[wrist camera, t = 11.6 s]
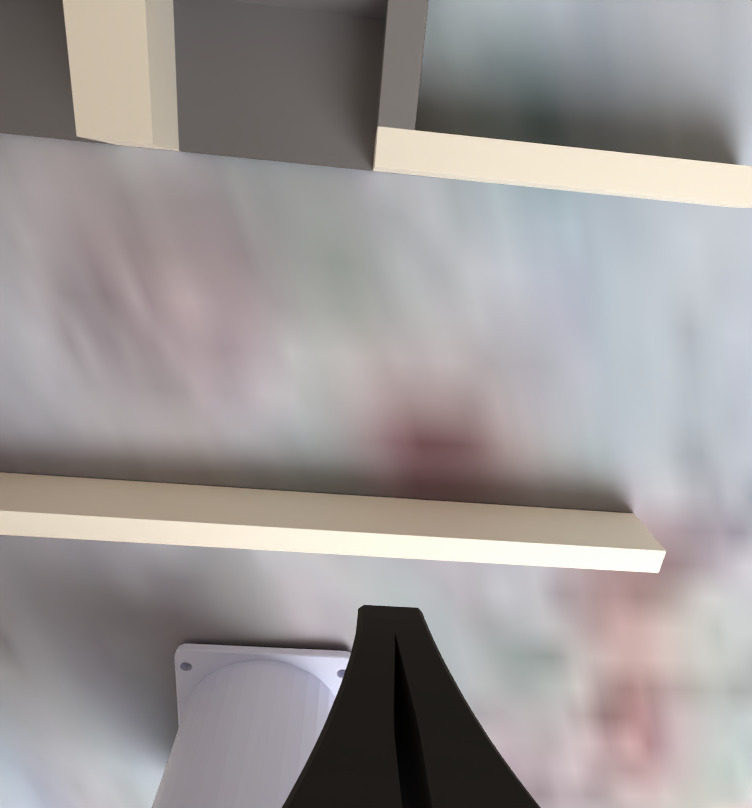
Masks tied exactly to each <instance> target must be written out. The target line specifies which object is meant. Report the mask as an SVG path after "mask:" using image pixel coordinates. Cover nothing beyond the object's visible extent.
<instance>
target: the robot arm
mask: <svg viewBox="0 0 752 808" xmlns="http://www.w3.org/2000/svg"><path fill="white" fill-rule="evenodd" d="M174 659H175V675H176V691H177V708H178V724H179V729H178V732H177V735H176V738H175V741H174V744H173V747H172V750H171V753H170V755H169V758H168V761H167V764H166V767H165V770H164V773H163V776H162V779H161V782H160V785H159V788H158V791H157V794H156V797H155V800H154V803H153V805H152V808H540V806H539V805H538V804H537V803H536V801H535V800H534V799H533V798H532V796H531V795H530V794H529V792H528V791H527V790H526V788H525V787H524V786H523V785H522V783H521V782H520V781H519V779H518V778H517V777H516V775H515V774H514V773H513V771H512V770H511V769H510V767H509V766H508V764H507V763H506V762H505V760H504V759H503V758H502V756H501V755H500V753H499V752H498V750H497V749H496V747H495V746H494V745H493V743H492V742H491V740H490V739H489V737H488V736H487V734H486V732H485V731H484V729H483V728H482V726H481V725H480V723H479V721H478V720H477V718H476V717H475V715H474V713H473V712H472V710H471V709H470V707H469V705H468V704H467V702H466V700H465V698H464V697H463V695H462V693H461V691H460V690H459V688H458V686H457V684H456V682H455V681H454V679H453V677H452V675H451V673H450V672H449V670H448V668H447V666H446V664H445V662H444V660H443V658H442V656H441V654H440V652H439V650H438V648H437V646H436V644H435V642H434V640H433V637H432V635H431V633H430V631H429V628H428V626H427V624H426V621H425V619H424V616H423V614H422V612H421V611H420V610H419V608H410V607H391V606H372V605H363V606H362V607H360V608H359V609H358V618H357V627H356V635H355V640H354V643H353V647H352V651H351V653H350V652H347V651H336V650H315V649H294V648H272V647H251V646H230V645H209V644H182V645H180V646H179V647H178V648H177V650H176V653H175V656H174ZM185 662H187V663H189V664H187V663H185ZM342 669H344V670H345V671H341V670H342Z"/></svg>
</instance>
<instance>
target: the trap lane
mask: <svg viewBox="0 0 752 808" xmlns="http://www.w3.org/2000/svg"><path fill="white" fill-rule="evenodd" d="M428 1H429V0H0V133H7V134H16V135H26V136H36V137H46V138H56V139H65V140H75V141H85V142H95V143H105V144H114V145H124V146H134V147H144V148H154V149H164V150H173V151H183V152H193V153H203V154H213V155H222V156H232V157H242V158H252V159H262V160H271V161H281V162H291V163H301V164H311V165H321V166H330V167H340V168H350V169H360V170H370V171H379V172H389V173H399V174H409V175H419V176H428V177H438V178H448V179H458V180H468V181H478V182H487V183H497V184H507V185H517V186H527V187H536V188H546V189H556V190H566V191H576V192H585V193H595V194H605V195H615V196H625V197H635V198H644V199H654V200H664V201H674V202H684V203H693V204H703V205H713V206H723V207H738V208H752V166H744V165H734V164H725V163H716V162H706V161H697V160H688V159H678V158H669V157H660V156H650V155H641V154H631V153H622V152H613V151H603V150H594V149H585V148H575V147H566V146H557V145H547V144H538V143H529V142H519V141H510V140H501V139H491V138H482V137H473V136H463V135H454V134H445V133H435V132H426V131H417V130H415V123H416V114H417V104H418V95H419V85H420V76H421V67H422V57H423V48H424V38H425V29H426V19H427V10H428ZM0 535H15V536H32V537H50V538H67V539H84V540H101V541H119V542H136V543H153V544H170V545H187V546H205V547H222V548H239V549H256V550H274V551H291V552H308V553H325V554H342V555H360V556H377V557H394V558H411V559H429V560H446V561H463V562H480V563H497V564H515V565H532V566H549V567H566V568H583V569H601V570H618V571H635V572H652V573H659V570H660V567H661V564H662V562H663V559H664V556H665V553H666V550H665V549H664V548H663V547H662V546H661V544H660V543H659V542H658V541H657V540H656V539H655V537H654V536H653V535H652V534H651V533H650V532H649V531H648V529H647V528H646V527H645V526H644V525H643V524H642V522H641V521H640V520H639V519H638V518H637V517H636V515H635V514H634V513H618V512H603V511H587V510H572V509H557V508H541V507H526V506H510V505H495V504H480V503H464V502H449V501H433V500H418V499H402V498H387V497H372V496H356V495H341V494H325V493H310V492H295V491H279V490H264V489H248V488H233V487H217V486H202V485H187V484H171V483H156V482H140V481H125V480H110V479H94V478H79V477H63V476H48V475H32V474H17V473H2V472H0Z"/></svg>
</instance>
